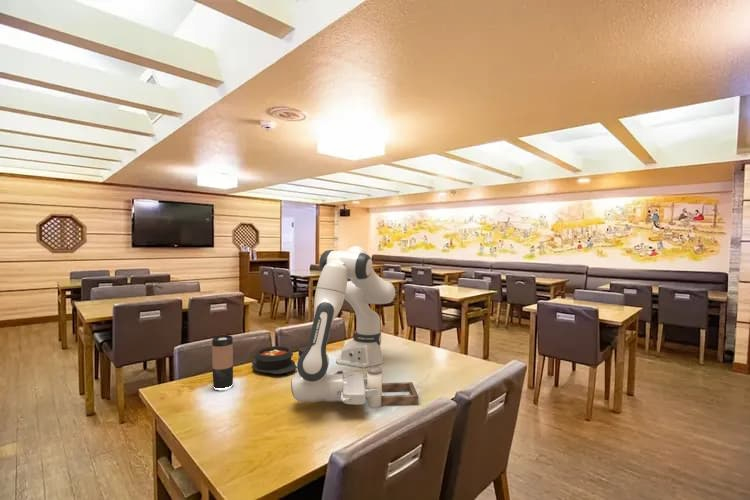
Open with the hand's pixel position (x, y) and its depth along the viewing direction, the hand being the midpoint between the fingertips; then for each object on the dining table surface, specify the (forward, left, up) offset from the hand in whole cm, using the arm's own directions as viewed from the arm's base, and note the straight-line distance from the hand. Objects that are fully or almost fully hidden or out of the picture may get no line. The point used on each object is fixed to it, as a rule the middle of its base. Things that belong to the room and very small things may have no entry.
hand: (377, 386), depth 132 cm
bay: (+6, +8, -7) cm, 12 cm away
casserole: (-54, +24, -7) cm, 59 cm away
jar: (-35, +19, -7) cm, 40 cm away
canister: (-1, 0, -7) cm, 7 cm away
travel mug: (-63, 0, -7) cm, 63 cm away
